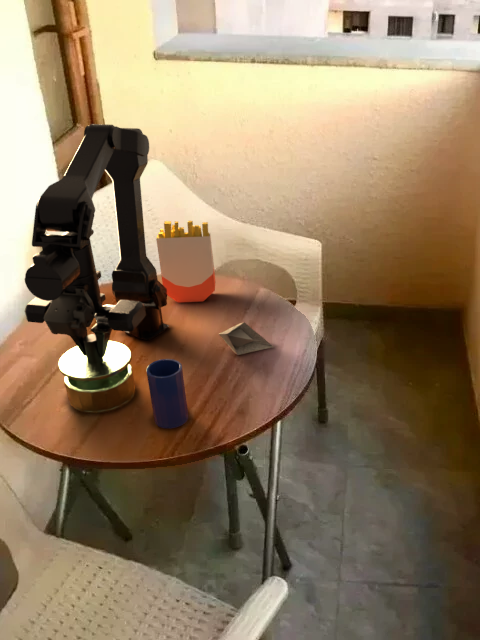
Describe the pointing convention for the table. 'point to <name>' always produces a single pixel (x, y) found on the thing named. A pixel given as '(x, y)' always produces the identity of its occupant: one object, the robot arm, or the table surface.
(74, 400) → the pot
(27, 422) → the table surface
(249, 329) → the paper boat
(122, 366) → the lid
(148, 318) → the robot arm
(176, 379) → the cup
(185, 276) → the french fries container
